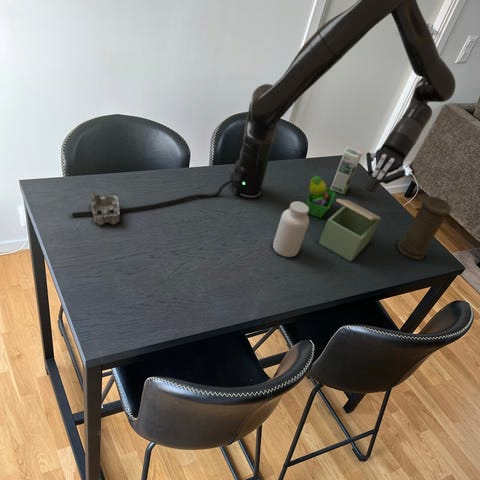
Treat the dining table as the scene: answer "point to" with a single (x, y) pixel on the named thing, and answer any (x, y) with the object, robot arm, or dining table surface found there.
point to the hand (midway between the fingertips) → (368, 191)
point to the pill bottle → (291, 229)
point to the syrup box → (346, 170)
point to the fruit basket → (319, 197)
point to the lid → (358, 209)
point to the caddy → (347, 232)
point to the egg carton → (105, 209)
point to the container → (424, 227)
